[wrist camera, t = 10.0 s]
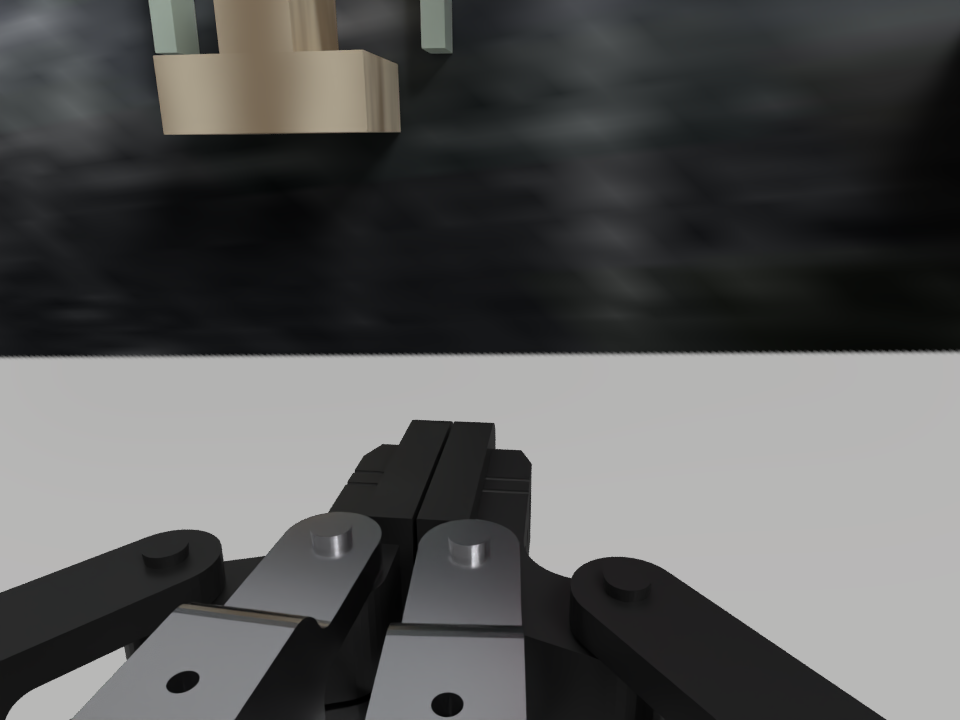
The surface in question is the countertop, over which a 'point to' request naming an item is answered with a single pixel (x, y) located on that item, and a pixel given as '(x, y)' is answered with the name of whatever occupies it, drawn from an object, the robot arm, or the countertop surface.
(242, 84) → the tee block
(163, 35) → the pocket
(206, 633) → the robot arm
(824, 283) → the countertop surface
